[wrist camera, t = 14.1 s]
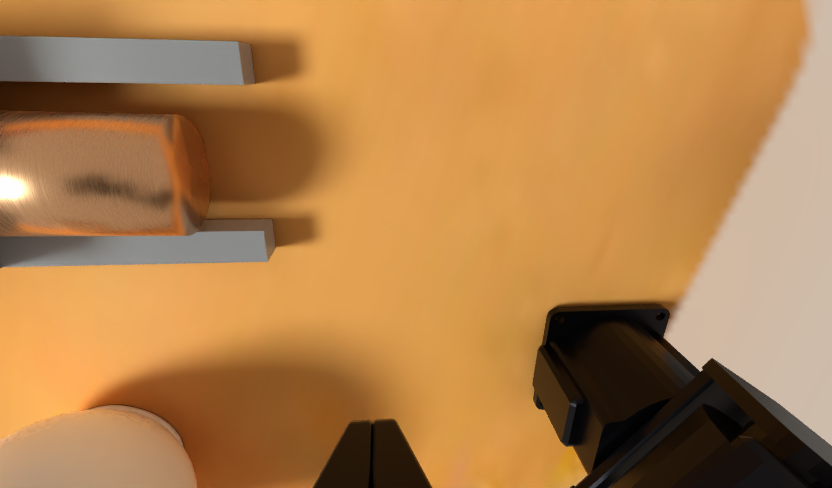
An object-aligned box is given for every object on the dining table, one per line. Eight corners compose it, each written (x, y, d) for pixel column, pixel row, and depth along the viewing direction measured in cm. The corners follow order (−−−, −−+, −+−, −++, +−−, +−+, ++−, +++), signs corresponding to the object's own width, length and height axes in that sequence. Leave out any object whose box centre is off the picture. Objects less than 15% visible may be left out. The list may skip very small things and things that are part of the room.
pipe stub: (-2, 245, 16) (-141, 223, 12) (12, 140, 17) (-115, 83, 13) (207, 243, 17) (148, 223, 13) (213, 143, 18) (159, 90, 13)
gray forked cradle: (250, 44, 15) (187, 30, 10) (276, 247, 19) (237, 314, 14) (-144, 34, 14) (-437, 13, 9) (-44, 253, 18) (-219, 328, 12)
